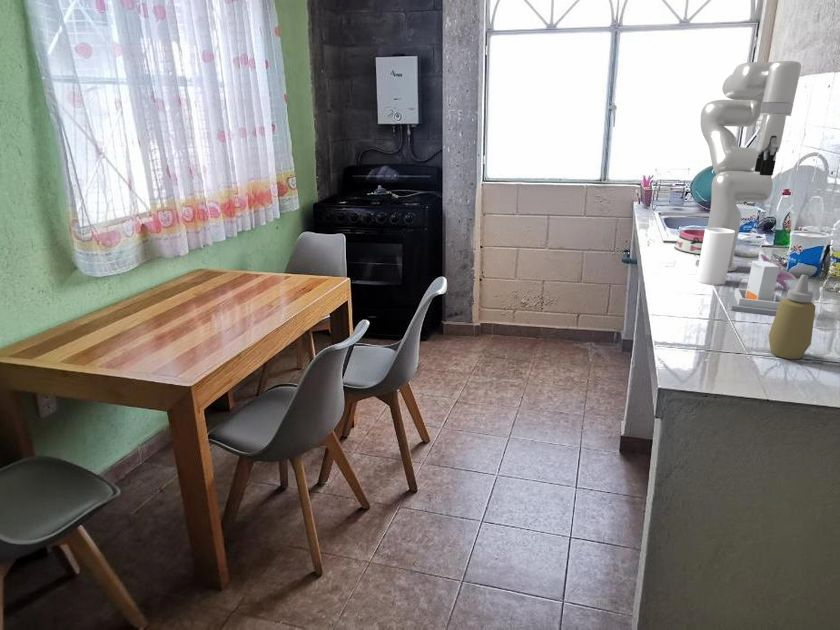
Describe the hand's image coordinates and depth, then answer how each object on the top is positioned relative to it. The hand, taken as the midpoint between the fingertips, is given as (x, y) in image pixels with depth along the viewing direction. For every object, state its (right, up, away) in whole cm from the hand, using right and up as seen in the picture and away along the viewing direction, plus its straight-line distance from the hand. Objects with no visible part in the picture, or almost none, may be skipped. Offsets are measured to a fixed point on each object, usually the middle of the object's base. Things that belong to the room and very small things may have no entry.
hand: (763, 173), depth 172 cm
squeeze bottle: (-17, -49, -39) cm, 65 cm away
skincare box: (-6, -38, -7) cm, 39 cm away
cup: (-8, -30, +16) cm, 34 cm away
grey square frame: (-6, -38, -7) cm, 39 cm away
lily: (+8, -32, +10) cm, 35 cm away
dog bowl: (+8, -16, +56) cm, 59 cm away
